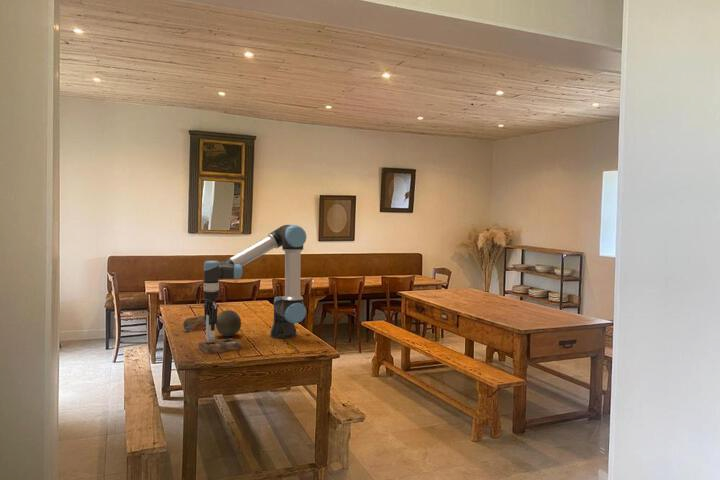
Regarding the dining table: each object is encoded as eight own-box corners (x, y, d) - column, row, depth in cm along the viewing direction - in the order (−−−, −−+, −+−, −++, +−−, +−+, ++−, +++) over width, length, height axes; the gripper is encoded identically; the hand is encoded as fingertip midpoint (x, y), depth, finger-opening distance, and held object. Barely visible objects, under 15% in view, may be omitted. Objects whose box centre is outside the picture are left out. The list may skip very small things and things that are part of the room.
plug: (212, 338, 272) (212, 313, 272) (214, 339, 270) (215, 314, 269) (205, 339, 270) (206, 314, 270) (208, 340, 267) (208, 315, 267)
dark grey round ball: (218, 333, 304) (218, 308, 304) (242, 333, 305) (243, 308, 304) (212, 339, 290) (213, 312, 289) (238, 339, 291) (238, 313, 290)
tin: (185, 332, 305) (185, 318, 304) (182, 331, 307) (182, 317, 307) (208, 329, 316) (208, 315, 315) (205, 328, 318) (205, 314, 318)
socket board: (231, 343, 282) (231, 337, 282) (241, 348, 272) (241, 342, 271) (198, 348, 271) (198, 341, 271) (208, 353, 261) (208, 347, 261)
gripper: (198, 289, 273) (197, 333, 274) (209, 293, 260) (209, 339, 261) (211, 288, 277) (211, 331, 279) (224, 292, 264) (223, 338, 265)
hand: (210, 335), depth 270 cm, fingers closed on plug, 3 cm apart
